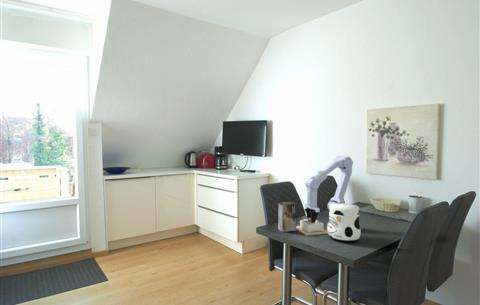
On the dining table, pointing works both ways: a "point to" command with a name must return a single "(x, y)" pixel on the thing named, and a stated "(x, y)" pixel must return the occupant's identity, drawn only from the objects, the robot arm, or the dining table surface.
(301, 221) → the butter dish
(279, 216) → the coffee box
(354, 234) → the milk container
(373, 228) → the dining table surface
